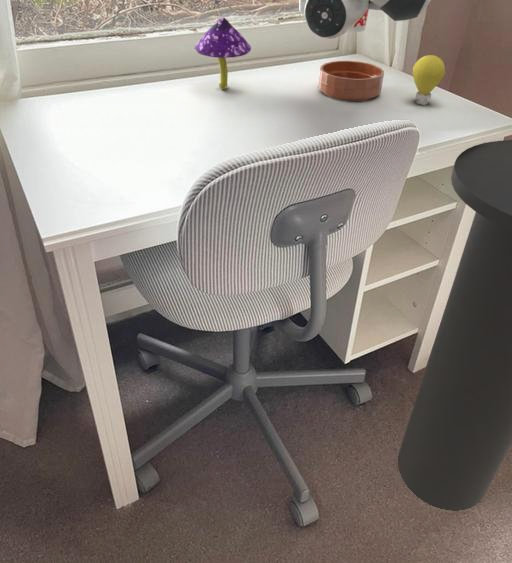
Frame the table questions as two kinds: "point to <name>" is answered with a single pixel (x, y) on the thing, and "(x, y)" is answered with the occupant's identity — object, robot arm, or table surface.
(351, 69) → the bowl
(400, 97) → the table surface
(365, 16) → the beverage cup
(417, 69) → the light bulb
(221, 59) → the decorative mushroom
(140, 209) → the table surface
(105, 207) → the table surface
